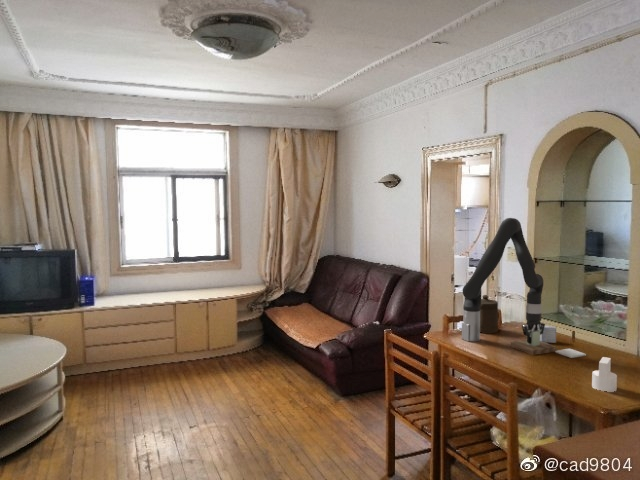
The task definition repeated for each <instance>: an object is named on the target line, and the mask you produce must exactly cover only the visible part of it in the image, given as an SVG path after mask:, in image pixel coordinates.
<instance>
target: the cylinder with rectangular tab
mask: <svg viewBox="0 0 640 480" xmlns="http://www.w3.org/2000/svg"><path fill="white" fill-rule="evenodd" d="M611 360H612V359H611V357H606V356H602V357H601V359H600V360H599V362H598V370H597V369H596V370H594V371H593V370H592V373H591V375H592V376H591V387H592V388H593V389H594V390H596V389H597V391H599V390H601V391H600V392H604V391H607V392H606V393H615V392H617V390H618V389H617V387H618V385H617V384H618V375H617V374H616V373H615V372H612V371H611V364H612V363H611V362H612V361H611ZM614 391H615V392H614Z"/></svg>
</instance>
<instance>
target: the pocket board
mask: <svg viewBox="0 0 640 480" xmlns="http://www.w3.org/2000/svg"><path fill="white" fill-rule="evenodd" d="M509 344H510V347H511V348H513V349H516V350H519V351H521V352H524V353H526V354H529V355H532V356H535V355H536V356H537V355H541V354H542V355H543V354H548V353H549V354H550V353H556V352H555V351H557V350H558V349H557V347H558V346H555V345H553V344H550V343H545V342H542V341H540V345H538V346H531V345H528V344H527V339H523V340H515V341H510V343H509Z"/></svg>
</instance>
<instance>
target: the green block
mask: <svg viewBox="0 0 640 480" xmlns="http://www.w3.org/2000/svg"><path fill="white" fill-rule="evenodd" d="M529 331H531V330H529ZM529 334H530V332H529ZM531 337H532V341H531V344H529V343H528V342H527V344H528V345H531V346H538V345H540V331H537V330H534V331H533V333H532V336H531Z"/></svg>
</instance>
